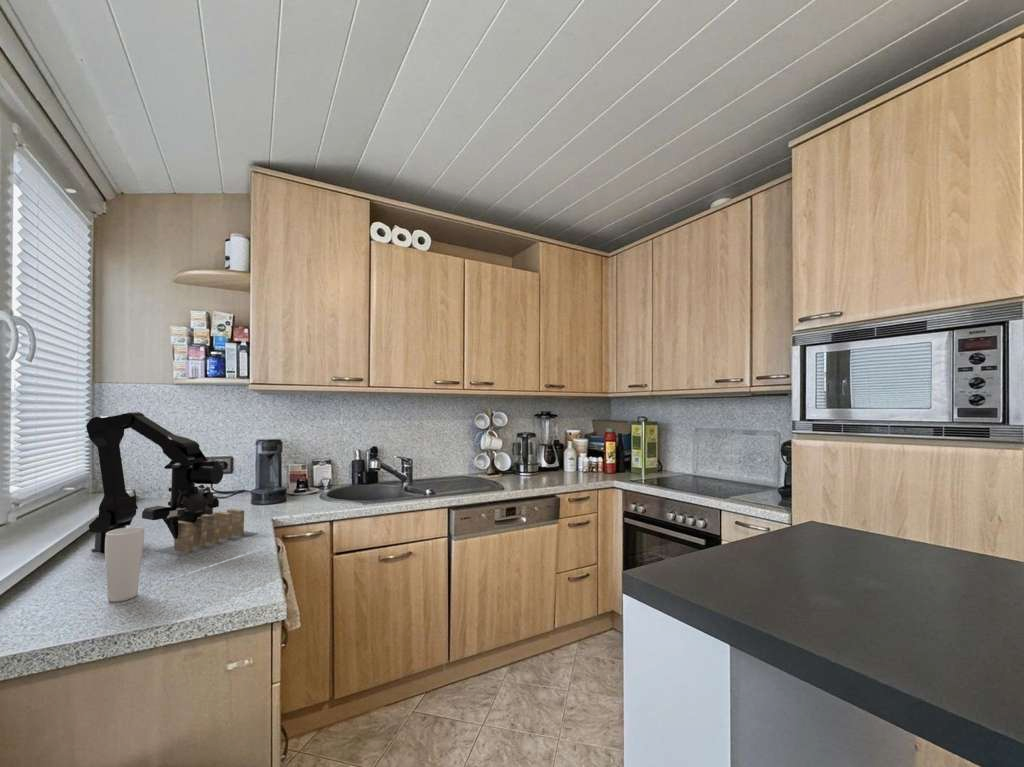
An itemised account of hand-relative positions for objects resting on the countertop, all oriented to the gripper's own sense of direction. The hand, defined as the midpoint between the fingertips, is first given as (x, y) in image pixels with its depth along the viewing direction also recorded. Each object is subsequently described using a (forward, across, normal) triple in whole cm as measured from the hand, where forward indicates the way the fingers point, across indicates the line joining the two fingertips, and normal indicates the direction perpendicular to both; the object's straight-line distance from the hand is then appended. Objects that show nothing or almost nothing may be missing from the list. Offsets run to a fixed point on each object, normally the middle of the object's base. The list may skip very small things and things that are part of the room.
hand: (181, 537), depth 138 cm
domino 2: (+4, +4, 0) cm, 6 cm away
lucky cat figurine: (+4, +24, +35) cm, 43 cm away
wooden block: (+4, +13, 0) cm, 13 cm away
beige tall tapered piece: (+4, -26, -22) cm, 34 cm away
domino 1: (+4, 0, -1) cm, 4 cm away
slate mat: (+4, +8, 0) cm, 9 cm away
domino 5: (+4, +17, 0) cm, 17 cm away
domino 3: (+4, +8, 0) cm, 9 cm away
